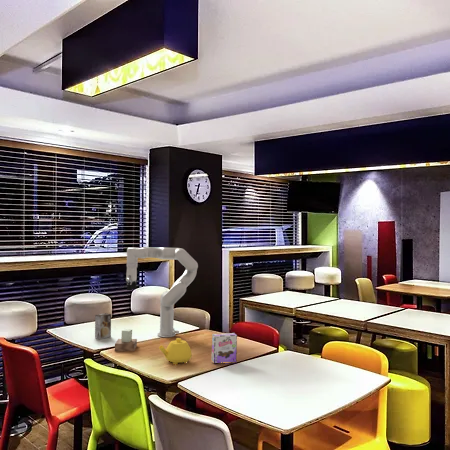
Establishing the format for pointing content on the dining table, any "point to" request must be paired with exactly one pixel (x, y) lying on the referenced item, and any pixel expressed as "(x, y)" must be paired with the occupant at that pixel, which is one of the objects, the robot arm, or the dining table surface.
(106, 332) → the coffee box
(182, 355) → the teapot
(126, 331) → the sage block
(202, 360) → the dining table surface
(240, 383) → the dining table surface
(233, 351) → the candy box
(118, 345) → the block
